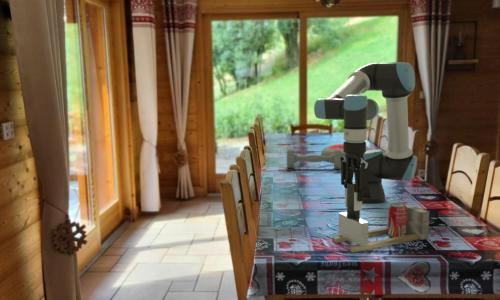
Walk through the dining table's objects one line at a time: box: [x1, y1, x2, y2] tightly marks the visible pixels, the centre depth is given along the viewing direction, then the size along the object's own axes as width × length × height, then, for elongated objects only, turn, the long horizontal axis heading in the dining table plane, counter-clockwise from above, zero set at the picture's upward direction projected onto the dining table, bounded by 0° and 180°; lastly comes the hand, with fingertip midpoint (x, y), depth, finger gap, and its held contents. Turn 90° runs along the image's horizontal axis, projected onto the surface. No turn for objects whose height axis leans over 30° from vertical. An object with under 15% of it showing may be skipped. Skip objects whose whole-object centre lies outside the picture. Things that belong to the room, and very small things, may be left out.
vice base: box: [331, 201, 430, 253], centre depth 164 cm, size 14×32×10 cm, turn 113°
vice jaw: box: [338, 181, 370, 246], centre depth 159 cm, size 13×4×20 cm, turn 23°
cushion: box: [320, 143, 374, 157], centre depth 321 cm, size 37×37×10 cm
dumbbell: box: [286, 147, 341, 170], centre depth 290 cm, size 13×33×13 cm, turn 81°
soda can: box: [387, 202, 407, 238], centre depth 167 cm, size 6×6×12 cm
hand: (353, 208), depth 158 cm, fingers closed on vice jaw, 4 cm apart
